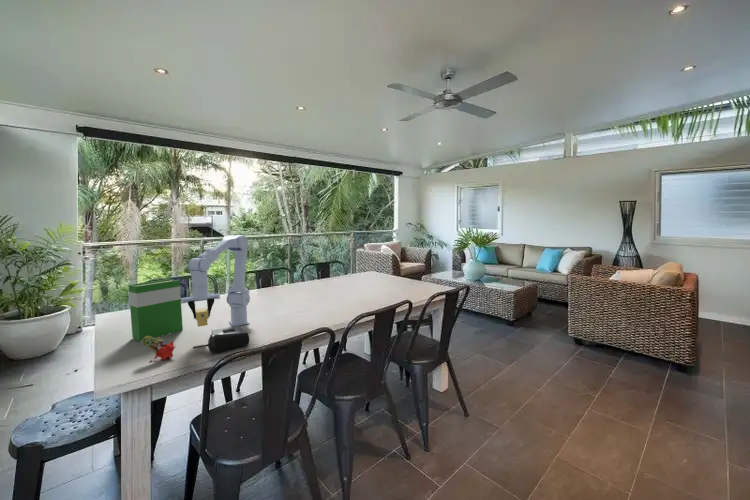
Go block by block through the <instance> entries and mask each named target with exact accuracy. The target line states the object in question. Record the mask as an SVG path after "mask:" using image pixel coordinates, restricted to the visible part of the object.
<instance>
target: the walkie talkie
mask: <svg viewBox="0 0 750 500" xmlns="http://www.w3.org/2000/svg"><path fill="white" fill-rule="evenodd" d="M249 343H250V335H249V333H248V332H245V333H235V334H220V335H213V334H212V333H211V334H210V335H209V338H208V341H207V344H202V345H195V346H193V347H192V349H199V348H205V347H207V348H208V351H209V352H210V354H211V355H215V354H218V353H222V352H225V351H228V350H234V349H235V348H240V347H244V346H247V345H249Z"/></svg>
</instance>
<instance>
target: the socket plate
mask: <svg viewBox="0 0 750 500" xmlns="http://www.w3.org/2000/svg"><path fill="white" fill-rule="evenodd" d="M235 333H246V332H245V330H244V328H243V327H242V325H238V326H227V327H223V328H218V329H211V335H212V334H213V335H220V334H235Z"/></svg>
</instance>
